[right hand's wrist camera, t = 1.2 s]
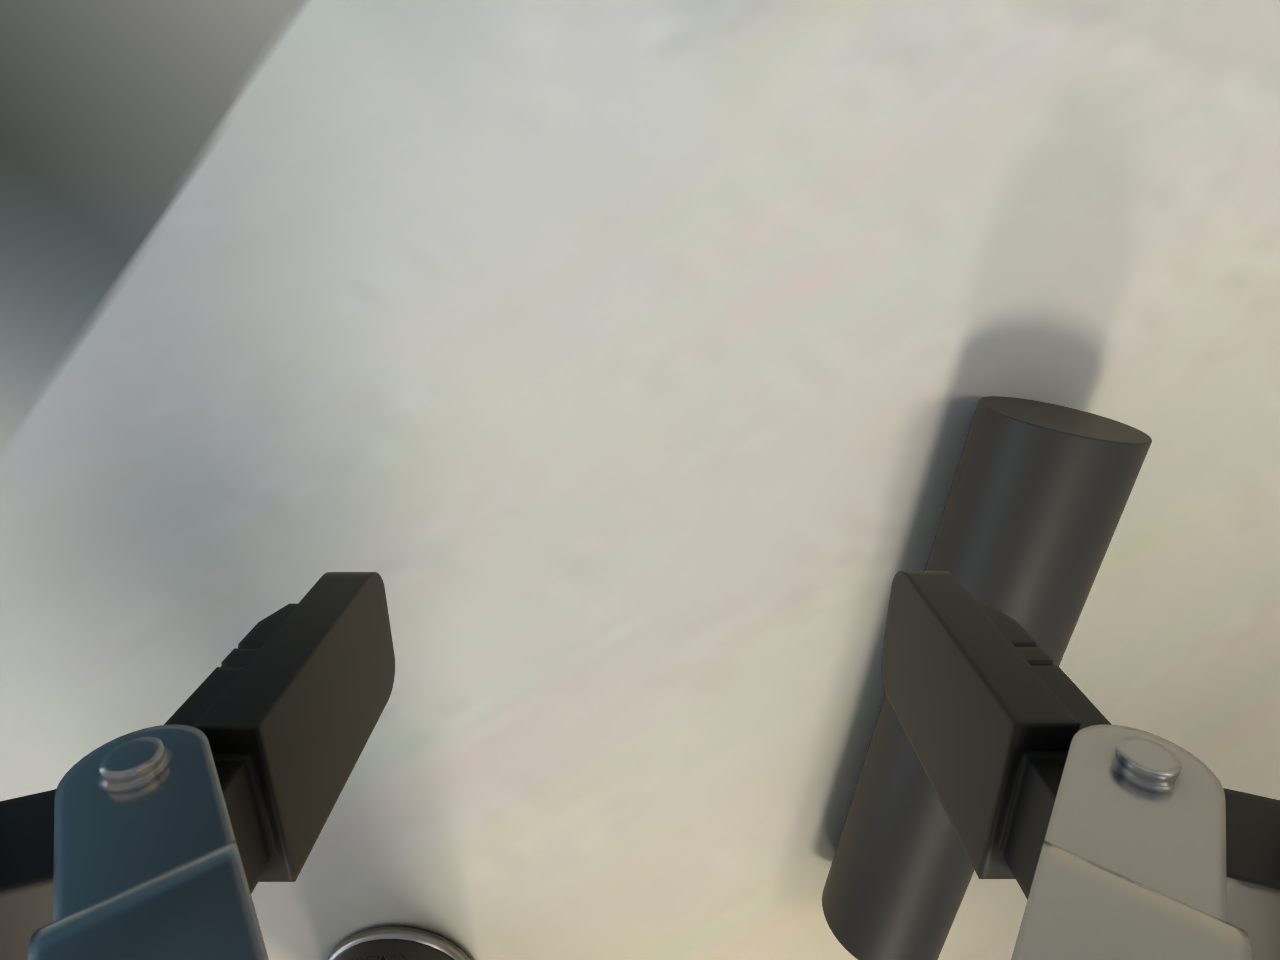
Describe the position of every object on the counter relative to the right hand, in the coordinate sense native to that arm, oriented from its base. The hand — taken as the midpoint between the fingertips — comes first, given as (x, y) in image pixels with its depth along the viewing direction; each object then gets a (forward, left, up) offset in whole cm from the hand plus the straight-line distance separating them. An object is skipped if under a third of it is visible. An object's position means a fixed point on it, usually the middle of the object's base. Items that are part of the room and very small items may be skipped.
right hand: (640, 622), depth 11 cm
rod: (-17, -13, -20) cm, 29 cm away
